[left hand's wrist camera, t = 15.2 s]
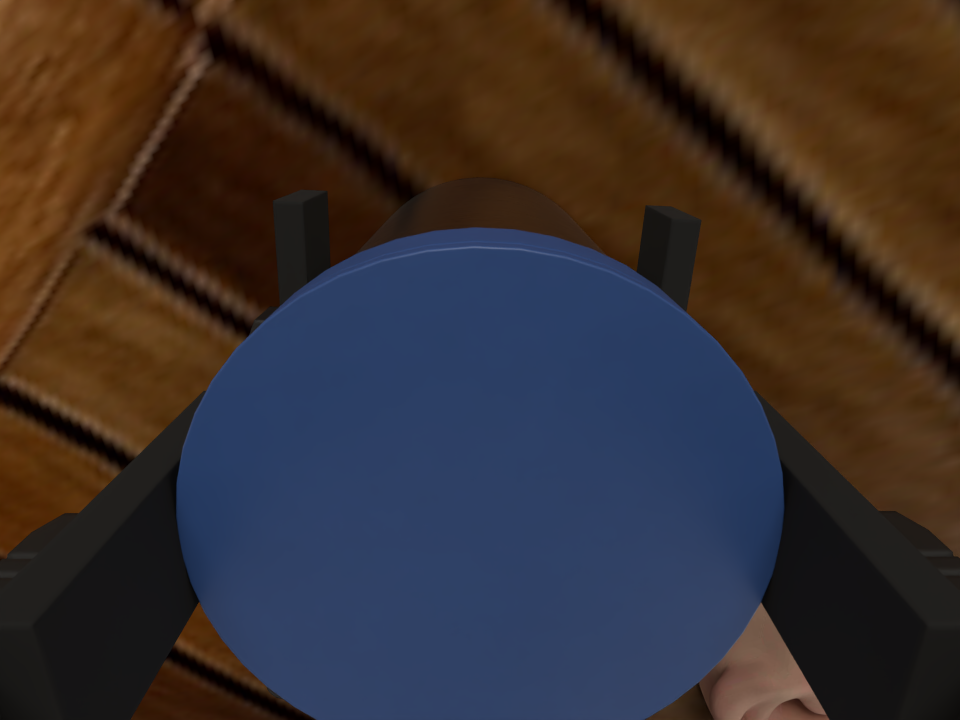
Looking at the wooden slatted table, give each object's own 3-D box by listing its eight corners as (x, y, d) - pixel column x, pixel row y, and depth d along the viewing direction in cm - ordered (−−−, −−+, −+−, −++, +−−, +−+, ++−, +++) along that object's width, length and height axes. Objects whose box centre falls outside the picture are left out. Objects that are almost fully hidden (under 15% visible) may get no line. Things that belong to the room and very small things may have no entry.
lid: (120, 318, 11) (59, 352, 9) (698, 150, 10) (741, 155, 8) (327, 727, 14) (308, 803, 13) (774, 631, 13) (813, 700, 12)
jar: (326, 217, 24) (106, 356, 10) (569, 145, 23) (708, 184, 9) (404, 432, 27) (323, 768, 13) (621, 376, 26) (784, 672, 12)
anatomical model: (765, 603, 25) (1042, 637, 25) (728, 539, 28) (970, 571, 29) (677, 829, 29) (914, 854, 30) (655, 750, 33) (866, 773, 34)
